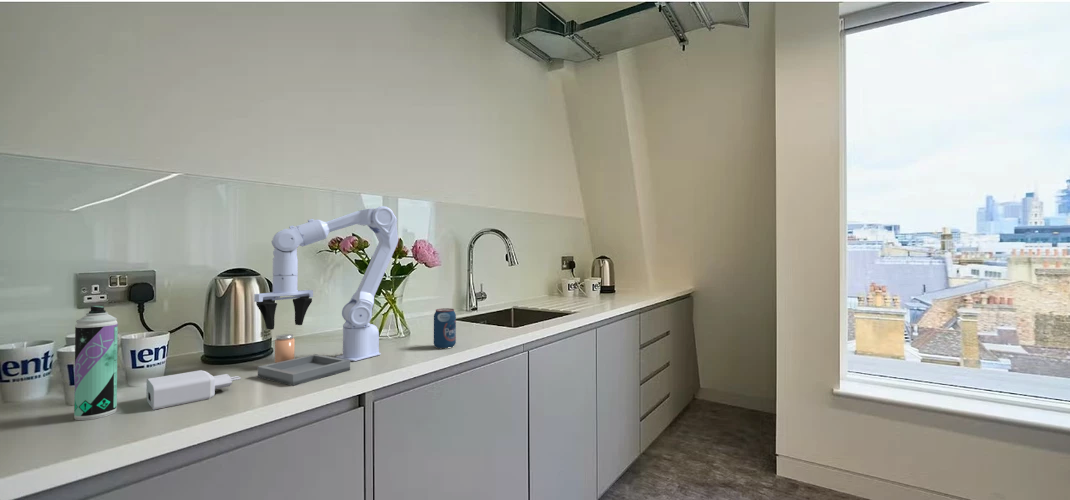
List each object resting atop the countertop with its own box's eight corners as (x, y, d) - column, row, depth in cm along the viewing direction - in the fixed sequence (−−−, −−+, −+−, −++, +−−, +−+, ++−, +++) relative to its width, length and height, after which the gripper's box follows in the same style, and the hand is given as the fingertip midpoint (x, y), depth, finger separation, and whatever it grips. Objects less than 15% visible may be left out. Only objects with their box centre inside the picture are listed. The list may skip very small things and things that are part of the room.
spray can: (75, 414, 79) (76, 305, 80) (116, 407, 83) (117, 303, 83) (73, 422, 75) (74, 308, 76) (116, 414, 79) (117, 306, 79)
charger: (245, 393, 92) (153, 412, 81) (233, 384, 99) (145, 400, 87) (246, 370, 93) (153, 387, 81) (233, 363, 99) (146, 377, 87)
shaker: (287, 363, 116) (288, 333, 116) (298, 365, 114) (298, 334, 114) (270, 367, 112) (271, 336, 112) (281, 369, 110) (281, 337, 110)
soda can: (449, 350, 133) (449, 311, 133) (429, 348, 135) (429, 310, 135) (459, 345, 140) (459, 308, 140) (440, 344, 142) (440, 307, 142)
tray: (315, 363, 117) (315, 354, 117) (350, 370, 110) (350, 360, 110) (257, 377, 103) (257, 366, 103) (293, 385, 97) (293, 374, 97)
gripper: (302, 273, 122) (301, 321, 122) (247, 276, 109) (247, 329, 109) (318, 274, 118) (317, 323, 118) (263, 276, 106) (263, 332, 106)
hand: (284, 326), depth 113 cm, fingers open, 7 cm apart
